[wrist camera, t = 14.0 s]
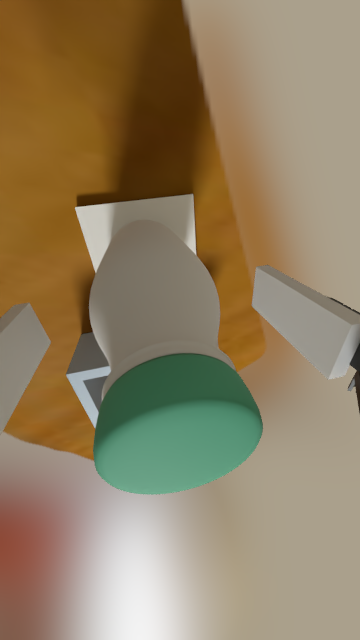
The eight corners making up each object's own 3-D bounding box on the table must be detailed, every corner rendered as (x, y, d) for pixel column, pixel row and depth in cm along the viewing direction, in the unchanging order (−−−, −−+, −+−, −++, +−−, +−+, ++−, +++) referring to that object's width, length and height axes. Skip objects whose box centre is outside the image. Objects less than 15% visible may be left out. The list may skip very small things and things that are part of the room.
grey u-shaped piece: (81, 334, 26) (66, 374, 20) (199, 313, 28) (216, 345, 22) (113, 409, 34) (108, 453, 28) (203, 389, 36) (216, 427, 30)
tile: (76, 207, 19) (74, 207, 19) (191, 194, 21) (193, 194, 20) (109, 309, 25) (108, 312, 24) (196, 294, 26) (198, 297, 26)
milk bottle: (96, 229, 20) (-115, 419, 3) (173, 210, 20) (366, 285, 3) (123, 299, 24) (98, 543, 7) (187, 282, 24) (305, 476, 8)
